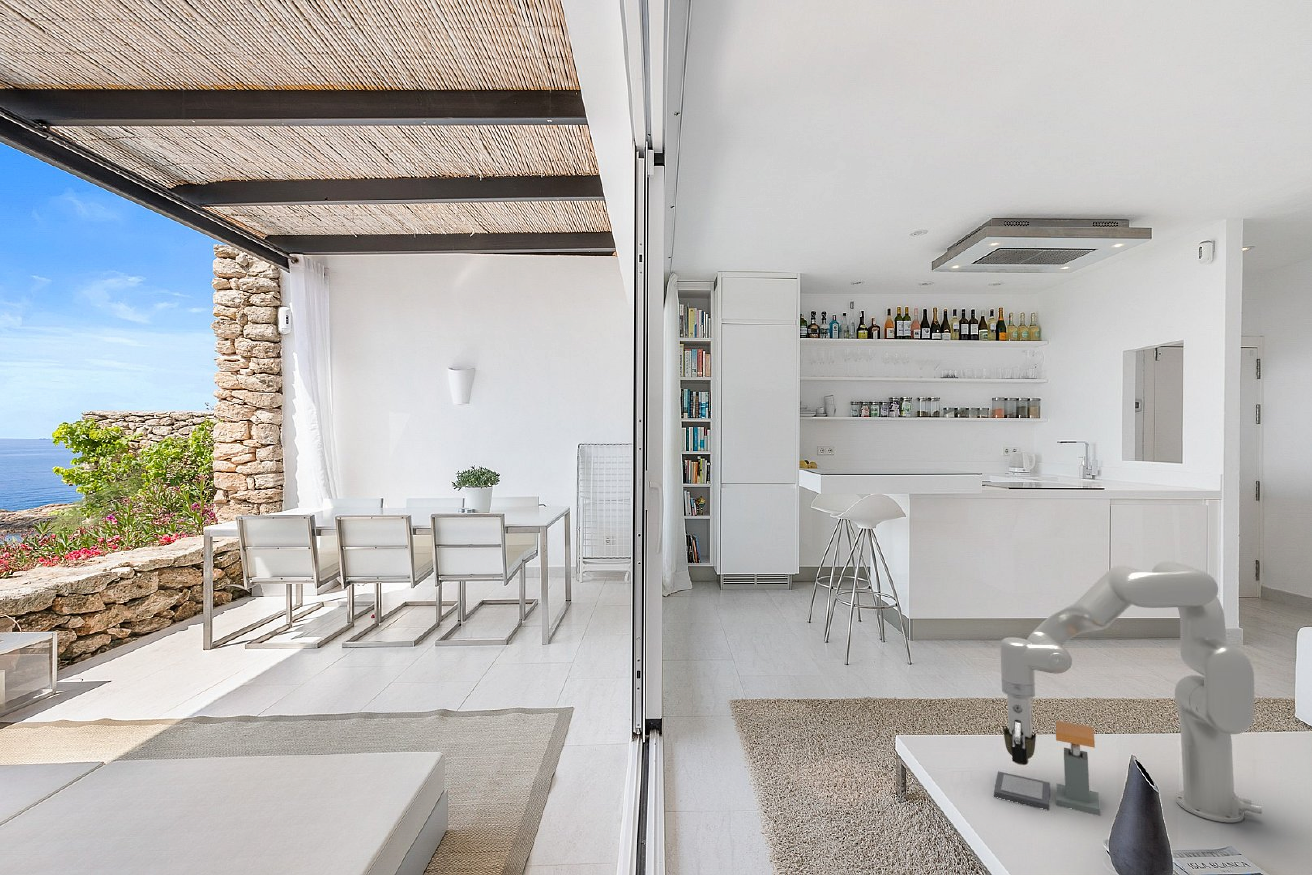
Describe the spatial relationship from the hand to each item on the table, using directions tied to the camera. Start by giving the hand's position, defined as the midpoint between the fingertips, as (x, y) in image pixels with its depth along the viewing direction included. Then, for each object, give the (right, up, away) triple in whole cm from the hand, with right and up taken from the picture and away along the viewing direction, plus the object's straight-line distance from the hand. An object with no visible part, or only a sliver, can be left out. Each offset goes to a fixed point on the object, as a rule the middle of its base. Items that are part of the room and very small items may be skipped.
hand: (1020, 756), depth 166 cm
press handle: (+11, -3, -5) cm, 13 cm away
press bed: (0, -9, 0) cm, 9 cm away
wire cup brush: (0, -2, 0) cm, 2 cm away
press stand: (+12, -9, -5) cm, 16 cm away
